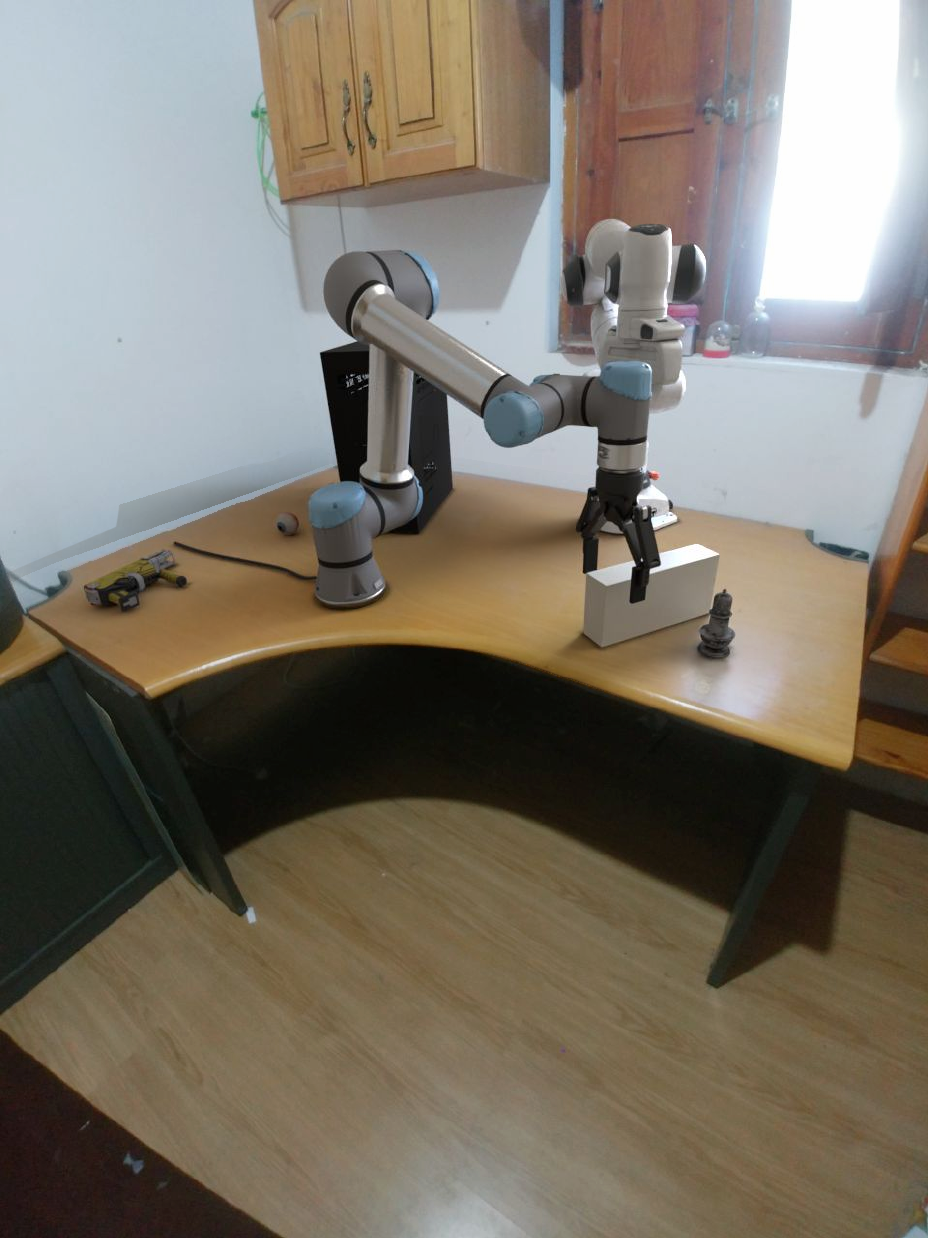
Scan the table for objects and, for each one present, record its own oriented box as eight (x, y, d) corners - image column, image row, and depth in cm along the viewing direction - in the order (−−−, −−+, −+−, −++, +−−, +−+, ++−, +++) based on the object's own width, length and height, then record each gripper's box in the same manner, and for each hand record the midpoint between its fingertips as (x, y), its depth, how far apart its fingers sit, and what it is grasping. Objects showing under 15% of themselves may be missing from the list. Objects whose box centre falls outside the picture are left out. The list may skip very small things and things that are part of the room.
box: (687, 600, 122) (696, 543, 116) (709, 613, 117) (720, 554, 111) (582, 632, 113) (586, 572, 107) (601, 647, 109) (606, 586, 102)
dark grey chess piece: (734, 659, 103) (747, 597, 97) (698, 657, 104) (708, 596, 98) (728, 641, 108) (740, 581, 102) (694, 639, 109) (704, 580, 103)
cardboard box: (418, 533, 160) (401, 349, 138) (347, 530, 165) (319, 352, 142) (452, 488, 192) (443, 333, 169) (392, 487, 196) (375, 335, 174)
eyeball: (273, 537, 164) (268, 516, 161) (287, 528, 169) (282, 508, 166) (291, 539, 161) (286, 518, 158) (305, 530, 166) (301, 510, 163)
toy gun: (210, 557, 146) (160, 546, 150) (132, 599, 126) (77, 585, 130) (213, 575, 148) (164, 564, 152) (137, 618, 128) (82, 604, 132)
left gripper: (557, 454, 105) (556, 565, 116) (653, 491, 85) (641, 621, 96) (593, 447, 108) (588, 556, 118) (695, 481, 88) (678, 609, 98)
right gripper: (594, 325, 120) (591, 398, 127) (663, 330, 104) (654, 413, 110) (620, 323, 122) (616, 395, 129) (692, 327, 106) (682, 409, 112)
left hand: (612, 585), depth 107 cm, fingers open, 13 cm apart
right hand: (634, 403), depth 119 cm, fingers open, 8 cm apart
